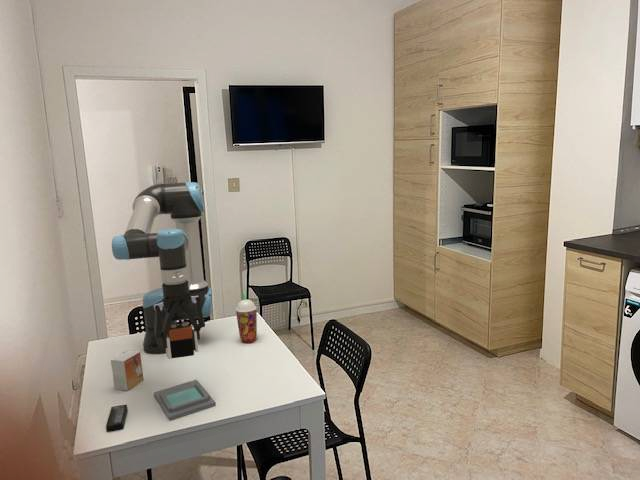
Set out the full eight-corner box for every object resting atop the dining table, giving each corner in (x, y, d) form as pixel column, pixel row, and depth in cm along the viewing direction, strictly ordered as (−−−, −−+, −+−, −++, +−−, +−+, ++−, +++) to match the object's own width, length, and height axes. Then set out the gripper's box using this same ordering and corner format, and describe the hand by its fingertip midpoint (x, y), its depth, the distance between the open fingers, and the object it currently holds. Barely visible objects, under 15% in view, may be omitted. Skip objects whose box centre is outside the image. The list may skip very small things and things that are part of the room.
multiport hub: (106, 433, 134) (105, 426, 133) (112, 413, 144) (111, 406, 144) (123, 430, 135) (122, 423, 134) (128, 410, 145) (127, 403, 145)
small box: (127, 391, 157) (123, 361, 155) (114, 389, 159) (110, 359, 157) (144, 380, 164) (140, 351, 162) (131, 378, 166) (127, 349, 164)
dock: (154, 395, 153) (153, 388, 153) (196, 382, 160) (196, 376, 160) (169, 420, 138) (168, 413, 138) (215, 405, 145) (215, 398, 145)
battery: (194, 355, 145) (190, 324, 143) (170, 359, 143) (167, 327, 142) (194, 350, 149) (191, 319, 147) (171, 353, 148) (168, 322, 146)
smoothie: (241, 336, 199) (238, 290, 195) (261, 336, 198) (257, 290, 194) (235, 344, 191) (231, 296, 187) (255, 344, 190) (252, 296, 186)
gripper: (142, 290, 133) (151, 367, 138) (212, 277, 144) (219, 349, 148) (136, 285, 140) (145, 358, 144) (204, 273, 151) (210, 341, 155)
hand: (182, 353), depth 146 cm, fingers closed on battery, 8 cm apart
